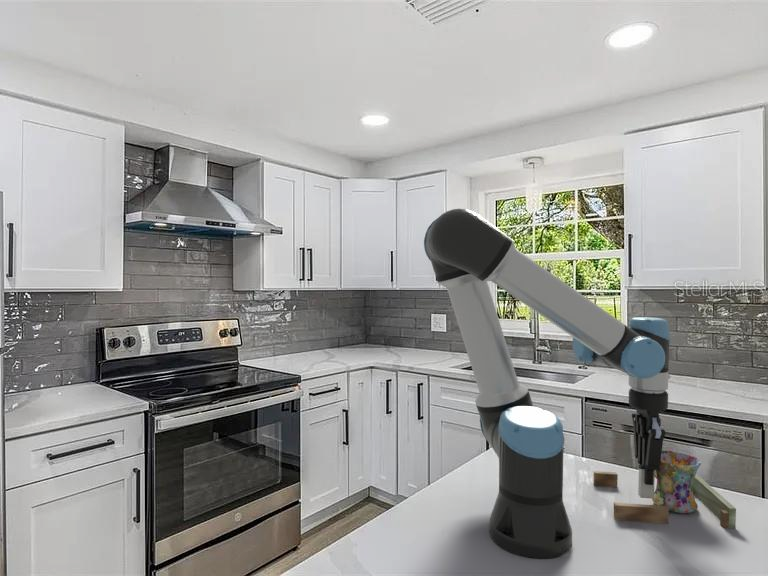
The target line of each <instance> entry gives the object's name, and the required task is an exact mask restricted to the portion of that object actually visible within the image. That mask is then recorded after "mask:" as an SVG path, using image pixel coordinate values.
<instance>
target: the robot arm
mask: <svg viewBox="0 0 768 576" xmlns="http://www.w3.org/2000/svg"><path fill="white" fill-rule="evenodd" d="M423 248H424V252H425V254H426V257H427V258H428V260H429V261H430V262H431V266H432V269H433V271H434V275H435V278H436V281H437V284H438V285H440V286H442V287H444V288H445V289H446V290H447V293H448V295H449V296H448V297H449V299H450V304H451V306H452V309H453V312H454V316H455V318H456V321H457V325H458V328H459V331H460V334H461V337H462V341H463V344H464V347H465V350H466V353H467V357H468V360H469V363H470V366H471V369H472V373H473V377H474V379H475V381H476V385H477V388H478V391H479V392H478V394H477V397H476V398H475V401H474V402H475V406H476V408H477V409H476V410H477V413H478V415H479V423H480V424H479V427H480V430H481V433H482V436H483V437H484V438H485V440H486V441H487V443H488V444H489V445H490V446H491V448H492V449H493V451H494V453H495V455H496V456H497V457H498V494H497V497H496V500H495V503H494V505H493V509H492V511H491V513H490V517H489V521H488V522H489V524H488V525H489V526H488V531H489V536H490V537H491V539H492V541H493V542H494V543H496V545H498V546H499V547H501V548H502V549H504V550H505V551H508V552H510V553H512V554H515V555H519V556H523V557H526V558H531V559H532V558H533V559H551V558H557V557H559V556H562V555H564V554H566V553H568V552H569V551H570V550H571V548H572V546H573V530H572V526H571V523H570V520H569V517H568V513H567V510H566V507H565V504H564V501H563V495H564V493H563V489H564V487H563V486H564V446H565V434H564V428H563V424H562V423H563V422H562V421H561V420H560V418H559V417H558V416H557V415H556V414H554V413H553V412H552V411H549V410H543V408H540V407H536V406H534V403H533V400H532V397H531V395H530V391H529V389H528V387H527V386H526V385H524V384H522V383H520V382H519V379H518V377H517V374H516V370H515V367H514V364H513V360H512V358H511V355H510V351H509V349H508V348H509V347H508V344H507V342H506V338H505V335H504V331H503V328H502V325H501V322H500V319H499V316H498V313H497V312H498V311H497V310H496V306H495V303H494V300H493V297H492V292H491V291H490V287H489V284H488V282H492V283H493V284H495V285H496V286H497V287H499V288H500V289H502V290H503V291H505V292H507V293H508V294H509V295H511V296H512V297H513V298H515V299H517V300H518V301H519V302H521V303H523V304H524V305H525V306H527V307H528V308H530V309H531V310H533V311H534V312H536V313H537V314H539V315H540V316H541V317H543V318H545V320H547V321H549V322H550V323H551V324H552V325H554V326H556V327H557V328H558V329H560V330H561V331H563V332H565V333H566V334H568V335H569V336H570V337H572V351H573V354H574V356H575V359H576V360H578V361H579V362H580V363H590V364H593V363H600V364H603V365H605V366H607V367H611V368H613V369H616V370H618V371H621V372H622V373H625V374H627V375H628V386H629V387H630V388H629V389H628V405H629V406H630V407H632V408H634V409H636V413H635V412H632V413H631V419H632V425H633V426H632V427H633V442H634V457H635V459H637V463H638V467H637V468H638V493H637V495H638V496H639V497H640V498H641V499H654V492H655V479H656V478H655V473H656V470H659V469H660V461H661V453H662V450H663V445H664V444H663V443H664V440H665V439H664V438H665V436H666V430H665V429H664V428H663V429H661V428H660V427H661V425H662V423H661V422H662V420H661V418H660V412H662V411H663V412H664V411H666V410H668V408H669V393H668V391H667V390H668V389H669V380H670V379H671V376H672V375H670V374H669V368H670V367H669V365H670V361H669V360H670V359H669V358H670V342H671V338H670V325H669V322H668V320H666V319H664V318H660V317H652V316H651V317H649V316H647V317H646V316H642V317H641V316H640V317H632V318H630V321H629V325H625V324H624V323H623V322H622V321H621V320H619V319H618V318H616V317H615V316H613V315H612V314H610V313H609V312H607V310H604V309H603V308H602V307H601V306H599V305H597V304H596V303H595V302H594V301H592V300H590V299H589V298H587V297H586V296H585V295H583V294H582V293H580V292H579V291H577V290H576V289H574V288H573V287H571V286H570V285H569V284H568V283H566V282H564V280H562V279H560V278H559V277H558V276H556V275H554V274H553V273H552V272H550V271H549V270H548V269H546V268H544V267H543V266H541V265H540V264H539V263H537V262H536V261H535V260H533V259H532V258H530V257H529V256H527V255H526V254H524V253H523V252H521V251H520V250H518V249H517V248H516V246H515V240H514V239H512V237H510V236H509V235H507V234H506V233H504V232H503V231H502V230H500V229H499V228H497V226H495V225H493V224H492V223H491V222H489V221H488V220H487V219H485V218H484V217H483V216H482V215H480V214H479V213H477V212H475V211H473V210H470V209H466V208H453V209H450V210H447V211H445V212H444V213H442V214H441V215H439V216H438V217H436V219H435V220H433V221H432V223H430V225H429V226H428V227H427V230H426V232H425V235H424V239H423Z"/></svg>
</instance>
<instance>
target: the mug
mask: <svg viewBox="0 0 768 576" xmlns="http://www.w3.org/2000/svg"><path fill="white" fill-rule="evenodd" d="M701 464H702V463H701V459H699V458H698V457H696V456H694V455H691V454H688V453H686V452H683V451H678V450H669V449H662V453H661V461H660V469H659V470H655V479H656V485H655V486H656V487H655V489H654V499H652V502H653V503H654V505H657V506H667V507H668V509H669V512H673V513H679V514H690V513H693V512H696V511H697V510H698V508H699V507H698V504H697V502H696V499H695V495H694V494H693V482H694V478H695V475H696V474H697V473H698V470H699V468H700V467H701Z"/></svg>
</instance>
